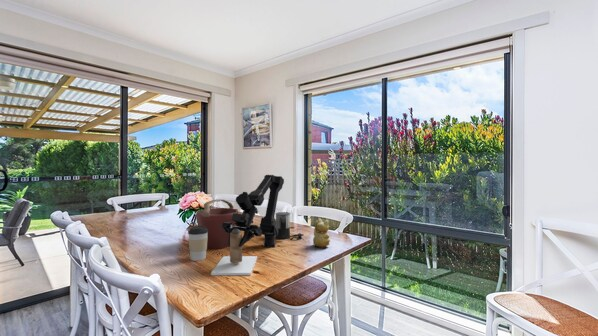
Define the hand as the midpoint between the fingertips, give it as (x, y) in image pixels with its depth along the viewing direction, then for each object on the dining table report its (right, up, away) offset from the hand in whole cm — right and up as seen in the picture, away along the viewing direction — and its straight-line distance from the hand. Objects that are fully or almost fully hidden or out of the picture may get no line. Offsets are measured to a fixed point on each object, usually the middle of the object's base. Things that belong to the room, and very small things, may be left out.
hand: (234, 246), depth 122 cm
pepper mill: (+1, -7, +1) cm, 7 cm away
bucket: (-17, -9, +33) cm, 38 cm away
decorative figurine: (+40, -9, +30) cm, 51 cm away
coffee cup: (-20, -9, +11) cm, 24 cm away
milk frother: (+22, -9, +48) cm, 54 cm away
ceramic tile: (0, -9, +1) cm, 9 cm away
